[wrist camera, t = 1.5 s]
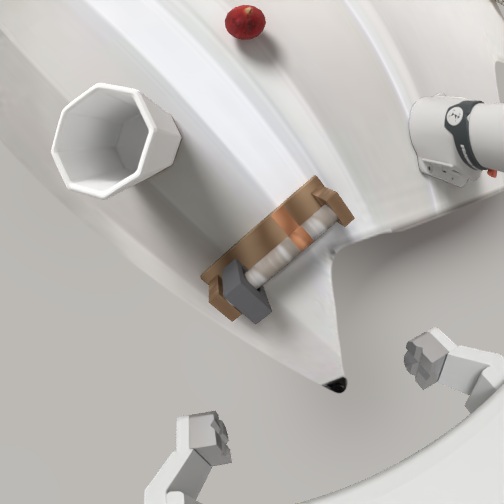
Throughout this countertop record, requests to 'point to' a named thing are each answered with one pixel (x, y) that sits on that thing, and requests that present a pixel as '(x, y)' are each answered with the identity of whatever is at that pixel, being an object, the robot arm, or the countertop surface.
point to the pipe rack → (278, 239)
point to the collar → (244, 293)
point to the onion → (245, 22)
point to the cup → (112, 140)
